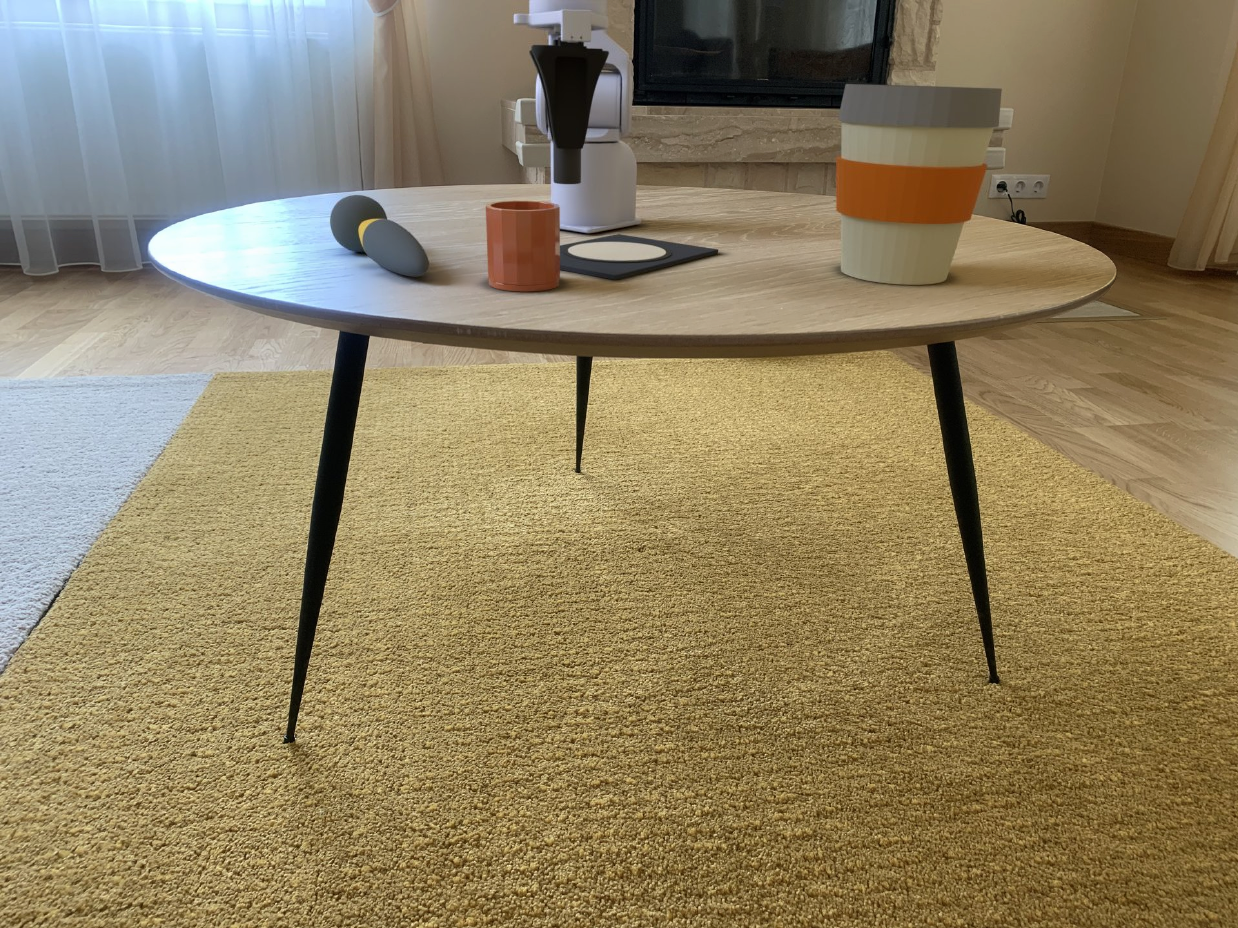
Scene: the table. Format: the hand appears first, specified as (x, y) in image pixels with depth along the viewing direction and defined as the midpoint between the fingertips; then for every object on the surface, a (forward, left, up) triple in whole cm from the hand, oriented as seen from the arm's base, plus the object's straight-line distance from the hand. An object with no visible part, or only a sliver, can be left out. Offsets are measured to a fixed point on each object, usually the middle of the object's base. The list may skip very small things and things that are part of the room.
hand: (567, 147), depth 68 cm
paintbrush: (+7, -15, -10) cm, 19 cm away
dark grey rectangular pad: (-9, -2, -10) cm, 13 cm away
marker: (0, 0, -3) cm, 3 cm away
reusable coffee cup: (-20, +20, -10) cm, 30 cm away
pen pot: (+5, 0, -10) cm, 11 cm away
